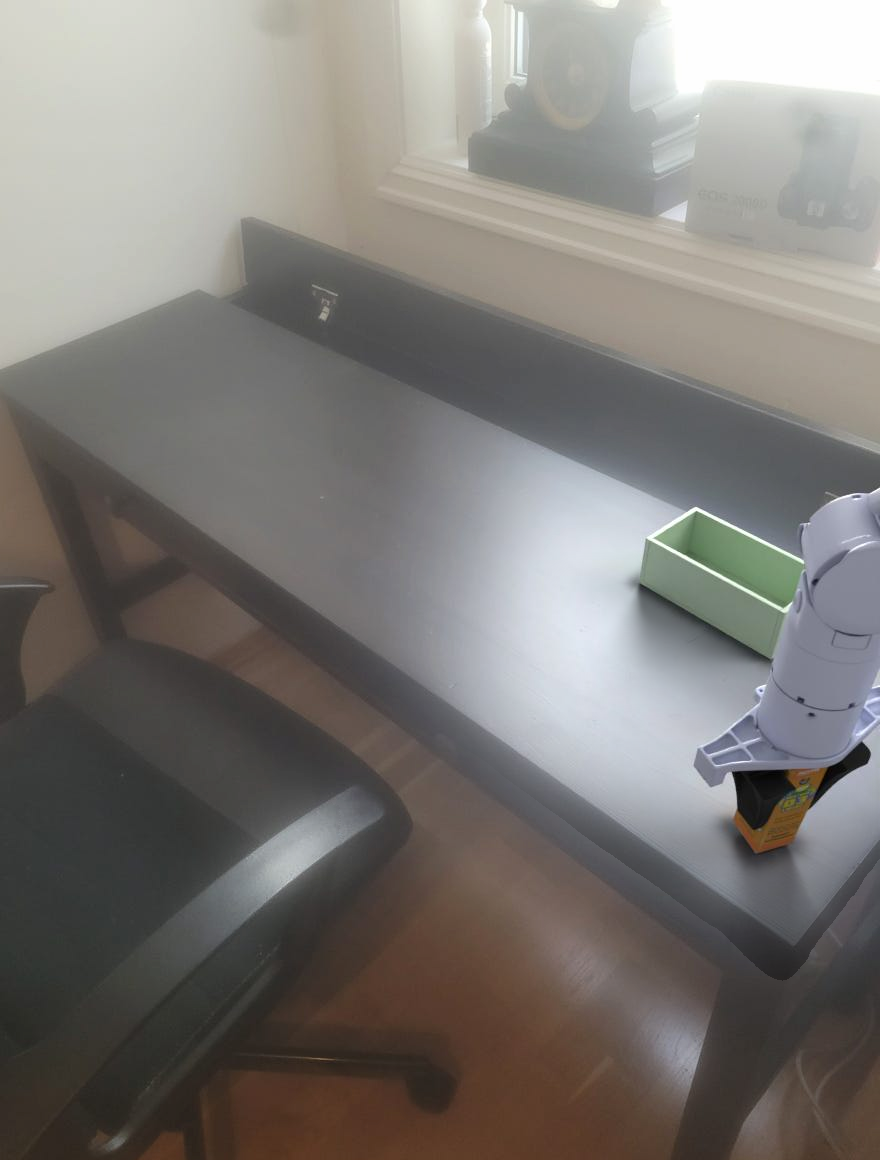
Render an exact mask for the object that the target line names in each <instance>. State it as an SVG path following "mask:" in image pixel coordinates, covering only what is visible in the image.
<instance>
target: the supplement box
mask: <svg viewBox="0 0 880 1160" xmlns="http://www.w3.org/2000/svg"><path fill="white" fill-rule="evenodd" d="M827 768H828V767H824V768H812V769H782V770H781V771H782V772H783V774H784V775H785V776H786V777H787V778H788V779H789V781H790V782H791V783H792V784H793V785H794V786H795V787H796V790H794V791H792V792H790V793H788V794H787V795H786V796H784V797H783V798H782V799H781V800H780V801H779V802H778V804H777V805H776V806H775V808H774V810H773V812H772V814H771V816H770V818H769V820H768V822H767V823H766V824H765V825H764V826H763V827H762V828H759V829H757V830H752V829H751V827H750V826H749V825H748V823H747V822H746V821H745V820H744V818H743V817H742V816H741V815H740V813H739V812H738V811H737V809H736V811H735V813H734V816H733V819H732V821H733V823H734V825H735V826H736V827H737V829H738V830H739V832H740V833H741V836H742V837H744V839H745V840H746V842H747V843H748V845H749V846H750V848H751V850H753V853H754V854H760V853H763V852H766V851H770V850H773V849H777V848H780V847H783V846H787V845H790V844H792V843H793V842H794V839H795V837H796V836H797V833H798V832H799V829H800V827H801V825H802V823H803V821H804V819H805V817H806V815H807V812H808V811H809V810H808V808H809V806H810V804H811V802H812V800H813V798H814V796H815V793H816V791H817V789H818V787H819V785H820V783H821V781H822V779H823V777H824V774H825V772H826V770H827Z"/></svg>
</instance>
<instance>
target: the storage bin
mask: <svg viewBox="0 0 880 1160" xmlns="http://www.w3.org/2000/svg"><path fill="white" fill-rule="evenodd" d="M803 570H805V564H804V559H802V558H800V557H798V556H795V555H794V554H792V553H790V552H788V551H786V550H785V549H782V548H780V547H778V546H775V545H774V544H772V543H769V542H767V541H766V540H763V539H761V538H759V537H757V536H755V535H754V534H752V533H749V532H748V531H746V530H743V529H741V528H739V527H737V526H736V525H733V524H731V523H729V522H727V521H726V520H723V519H721V518H719V517H717V516H715V515H713V514H711V513H709V512H707V511H705V510H703V509H701V508H699V507H697V506H695V507H693V508H691V509H690V510H688V511H687V512H685V513H683V514H682V515H680V516H679V517H677V518H675V519H673V520H672V521H671V522H669V523H668V524H666V525H664V526H663V527H661V528H660V529H658V530H656V531H655V532H653V533H652V534H650V535H648V536H647V537H645V541H644V548H643V554H642V562H641V568H640V574H639V581H638V582H639V584H640V585H642V586H643V587H645V588H647V589H648V590H651V591H652V592H654V593H656V594H658V595H659V596H661V597H662V598H665V600H668V601H670V602H671V603H673V604H674V605H676V606H678V607H679V608H682V609H683V610H684V611H686V612H688V613H690V614H692V615H694V616H695V617H696V618H699V619H700V620H702V621H703V622H706V623H707V624H709V625H711V626H712V627H714V628H716V629H717V630H719V631H721V632H723V633H725V634H726V635H728V636H729V637H731V638H733V639H735V640H736V641H738V642H739V643H741V644H743V645H744V646H747V647H748V648H750V649H752V650H754V651H755V652H757V653H759V654H761V655H762V656H763V657H766V658H767V659H769V660H774V656H775V653H776V650H777V646H778V643H779V640H780V636H781V633H782V630H783V627H784V623H785V620H786V616H787V613H788V610H789V608H790V606H791V604H792V602H793V599H794V596H795V593H796V590H797V586H798V583H799V580H800V576H801V573H802V571H803Z"/></svg>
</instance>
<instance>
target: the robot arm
mask: <svg viewBox="0 0 880 1160" xmlns="http://www.w3.org/2000/svg"><path fill="white" fill-rule="evenodd" d="M796 538H797V539H796V540H797V545H798V550H799V552H800V554H801V556H802V557H803V560H804V564H805V570H803V571H802V573H801V576H800V580H799V583H798V586H797V590H796V593H795V596H794V599H793V602H792V604H791V606H790V608H789V610H788V613H787V616H786V620H785V623H784V627H783V630H782V633H781V636H780V640H779V643H778V646H777V650H776V653H775V656H774V658H773V659H772V663H771V666H770V670H769V673H768V677H767V680H766V684H764V685H763V684H762V685H760V686H758V687H756V688H755V689H754V693H753V696H752V698H753V700H754V701H755V702H756V703H757V704H755V706H754V707H752V708H751V709H750V710H749V711H747V712H746V713H745V714H744V715H743V716H742V717H741V718H739V719H738V720H737V721H735V723H733V724H732V725H731V726H730V727H728V728H727V729H726V730H724V732H723V733H721V734H720V735H719V736H717V737H716V738H715V739H713V740H711V741H709V742H708V743H705V744H702V745H700V746H698V747H697V750H696V753H695V758H694V761H693V768H694V769H695V770H696V771H697V772H698V774H699V776H700V777H701V778H702V780H703V781H705V783H706V784H707V786H709V788H713V787H717V786H719V785H722V784H724V780H725V777H726V775H727V774H728V773H731V775H732V778H733V782H734V787H735V794H736V810H737V811H738V812H739V813H740V815H741V816H742V817H743V818H744V820H745V821H746V822H747V823H748V825H749V826H750V827H751V829H752V830H757V829H759V828H762V827H763V826H764V825H765V824H766V823H767V822H768V820H769V818H770V816H771V814H772V812H773V810H774V808H775V806H776V805H777V804H778V802H779V801H780V800H781V799H782V798H783V797H784V796H786V795H787V794H788V793H790V792H792V791H794V790H796V787H795V786H794V785H793V784H792V783H791V782H790V781H789V779H788V778H787V777H786V776H785V775H784V774H783V772H782V771H781V770H782V769H812V768H824V767H828V768H827V770H826V772H825V774H824V777H823V779H822V781H821V783H820V785H819V787H818V789H817V791H816V793H815V796H814V798H813V800H812V802H811V804H810V806H809V808H808V811H809V810H811V809H812V808H813V807H814V806H815V805H816V804H817V803H818V802H819V801H820V800H821V798H823V796H825V794H826V793H827V792H828V791H830V789H831V788H832V787H833V786H834V785H835V784H837V783H838V782H839V781H840V780H842V779H844V778H845V777H846V776H848V775H849V774H851V773H853V772H854V771H857V770H858V769H859V768H862V767H864V766H866V765H868V764H869V762H870V759H871V758H872V757H871V756H872V752H871V749H870V748H869V747H868V746H867V745H866V743H864V742H863V741H864V740H865V739H866V738H867V737H868V736H869V735H870V734H871V733H872V732H873V731H874V730H875V729H877V728H878V727H879V726H880V685H877V686H873V685H874V683H875V681H876V678H877V675H878V673H879V671H880V487H879V488H877V489H876V490H873V491H872V492H870V493H862V492H859V493H851V494H847V495H842V496H839V497H837V498H835V499H833V500H830V501H828V502H827V503H826V504H825V505H823V506H821V507H820V508H819V509H818V510H817V511H815V512H814V513H813V515H811V516H810V518H809V522H807V523H800V524H799V525H798V526H797V533H796Z"/></svg>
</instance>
